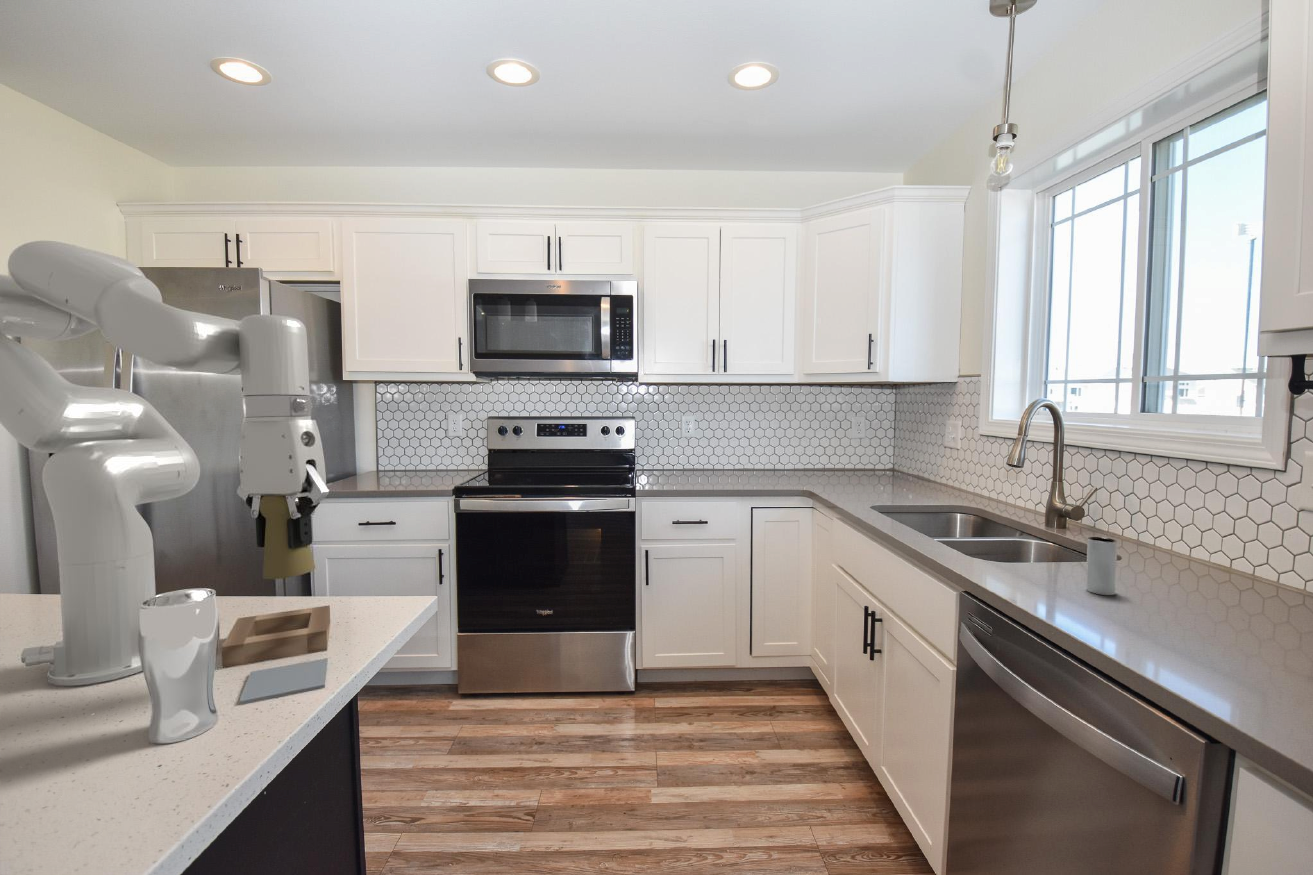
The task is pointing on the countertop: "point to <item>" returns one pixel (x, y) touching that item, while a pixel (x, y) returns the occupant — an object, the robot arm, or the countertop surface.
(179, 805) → the countertop surface
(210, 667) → the beer glass
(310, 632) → the wooden square frame
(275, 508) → the olive rounded peg
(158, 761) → the countertop surface
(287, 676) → the rubber mat
